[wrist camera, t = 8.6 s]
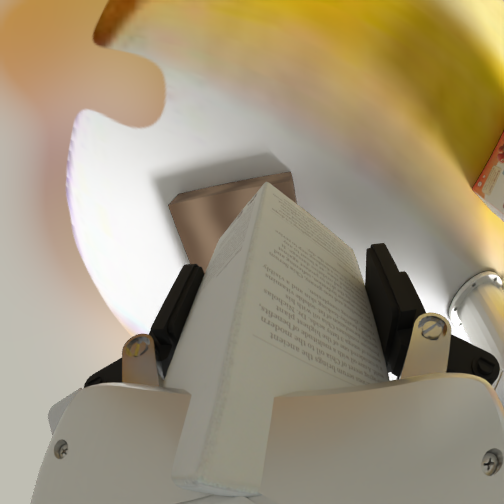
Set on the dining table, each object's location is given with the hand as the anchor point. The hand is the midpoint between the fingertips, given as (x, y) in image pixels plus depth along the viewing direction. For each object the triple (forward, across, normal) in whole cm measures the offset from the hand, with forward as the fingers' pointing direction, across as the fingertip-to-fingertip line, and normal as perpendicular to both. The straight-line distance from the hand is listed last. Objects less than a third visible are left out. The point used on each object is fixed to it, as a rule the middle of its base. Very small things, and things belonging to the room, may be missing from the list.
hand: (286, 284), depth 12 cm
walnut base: (+22, +7, +8) cm, 24 cm away
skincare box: (+3, 0, 0) cm, 3 cm away
